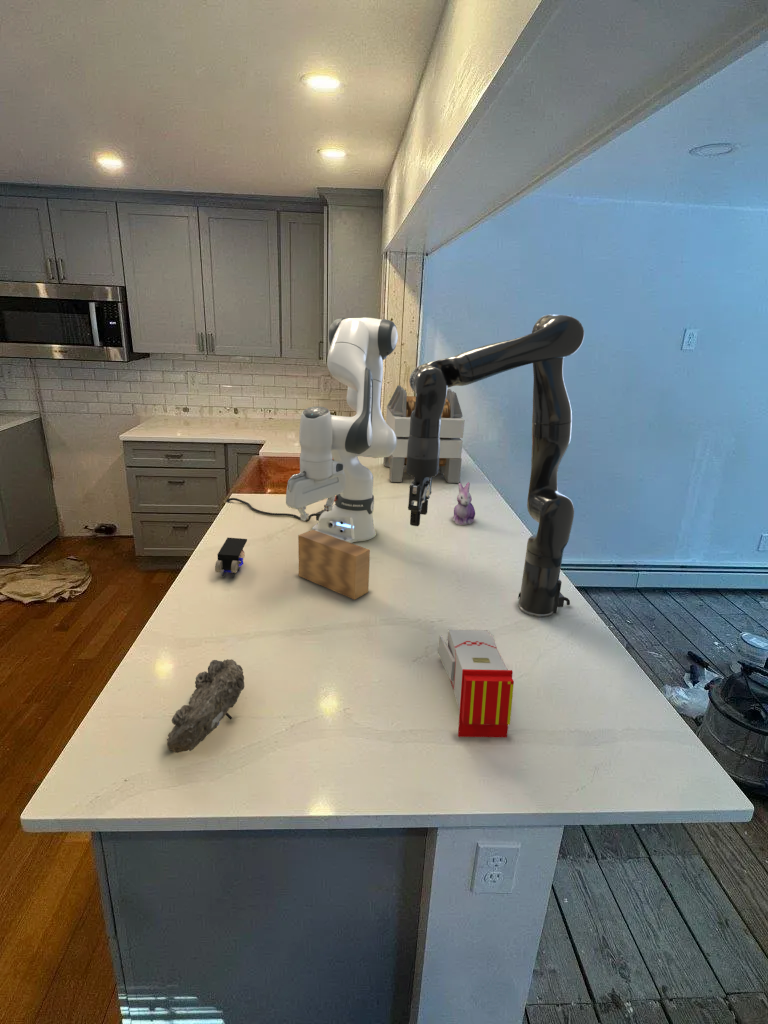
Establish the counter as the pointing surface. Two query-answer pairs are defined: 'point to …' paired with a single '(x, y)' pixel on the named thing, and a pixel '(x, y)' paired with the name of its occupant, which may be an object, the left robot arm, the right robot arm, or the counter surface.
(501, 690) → the toy
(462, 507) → the figurine
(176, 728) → the fossil
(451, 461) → the transformer
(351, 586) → the box
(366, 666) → the counter surface
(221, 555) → the figurine character
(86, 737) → the counter surface
